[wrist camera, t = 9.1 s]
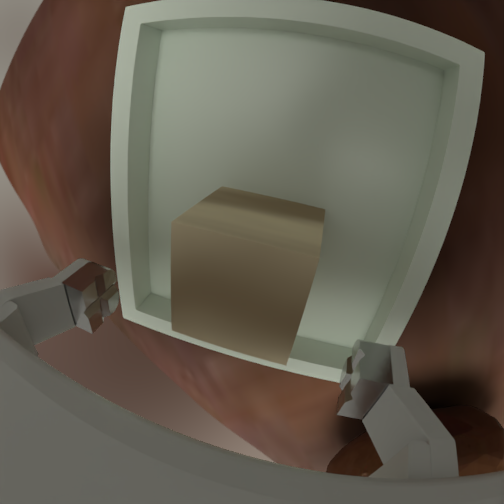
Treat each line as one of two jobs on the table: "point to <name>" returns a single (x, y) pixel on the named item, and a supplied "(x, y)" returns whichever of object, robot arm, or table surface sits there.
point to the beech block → (244, 271)
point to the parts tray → (293, 151)
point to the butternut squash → (460, 428)
